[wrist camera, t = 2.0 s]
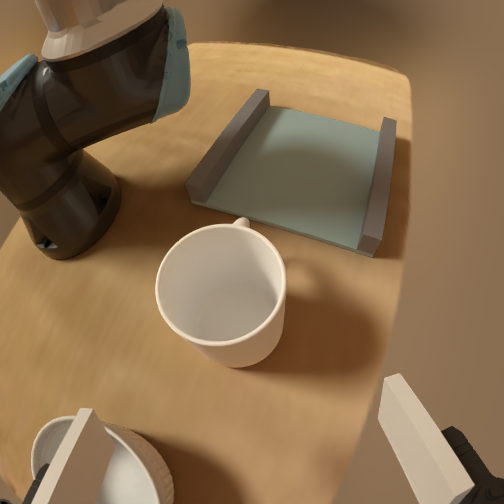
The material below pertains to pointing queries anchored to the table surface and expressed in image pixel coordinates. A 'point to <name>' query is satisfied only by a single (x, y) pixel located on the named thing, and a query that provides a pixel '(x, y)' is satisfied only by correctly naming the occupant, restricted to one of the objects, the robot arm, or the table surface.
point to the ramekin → (115, 465)
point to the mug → (224, 293)
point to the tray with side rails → (300, 174)
